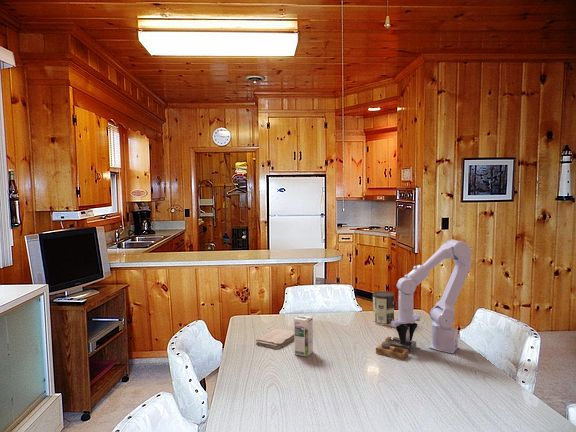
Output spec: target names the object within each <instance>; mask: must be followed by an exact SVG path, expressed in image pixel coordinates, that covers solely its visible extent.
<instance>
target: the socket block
mask: <svg viewBox="0 0 576 432" xmlns="http://www.w3.org/2000/svg"><path fill="white" fill-rule="evenodd" d="M392 340H396V341H399V342H398V343H397V342H392V341H389V343H390V346H393V347H397V348H401V349H405V350H408V354H410V353H411V352H413V350H414V349H416V347H417V341H416V340H412V341H410V346H408V345H403V344H402V342H400V338H399V336H398V337H397V336H394V337H393V338H392Z"/></svg>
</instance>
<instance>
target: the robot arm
mask: <svg viewBox="0 0 576 432" xmlns="http://www.w3.org/2000/svg"><path fill="white" fill-rule="evenodd" d="M471 254H472V248H471V247H470V245H469V244H468V243H467V242H466V241H462V240H461V241H460V240H456V239H453V238H451V239H448V240H446V242H445V243H443V244H441V245H440V247H439V248H438V249H437V250H436V251H435V253H433V254H432V255H431V256H430V257H429V258H428V259H427V260H426V261H425V262H424V263H423V264H417V265H414V266H413V267H412V268H413V269H412V270H411V271H409V272H408V273H407V274H405V275H404V276H403V277H401V278H399V279H398V280H397V283H396V288H397V289H398V317H397V318H395V319H394V321H391V325H390V326H391V327H393V328H395V329H396V332H397V334H398V338H400V342H402V343H405V342H406V333H407V330H408V327H405V325H407V326H410V341H413V336H414V333H415V331H416V329H417V328H418V323H417V322H420V321H421V316H419V315H417V314H416V315H415V314H414V293H415V292H416V290H417V286H419V285H420V284H422V282H423V281H424V280H426V278H428V277H429V275H430V271H431V270H432V269H434V268H435V267H436V266H438V265H439V264H440V263H441V262H443V261H444V260H445V259H452V261H453V262H454V268H453V270H452V272H451V275H450V277H449V279H448V281H447V284H446V286H445V289H444V291H443V293H442V296H441V298H440V300H438V301H437V302H436V303H435V305H434V307H432V308H431V309H430V312H429V318H430V319H431V320H432V323H431V344H430V345H429V346H428V349H431V350H434V351H440V352H444V353H449V354H454V353H455V352H456V351H457V350H458V348H459V332H458V329H457V328H455V327H453V325H454V323H455V315H456V310H455V304H456V302H457V299H458V298H459V295H460V294H461V293H460V292H461V291H462V288H463V286H464V284H465V281H466V279H467V277H468V275H469V272H470V269H471V267H472V258H471Z"/></svg>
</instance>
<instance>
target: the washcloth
mask: <svg viewBox="0 0 576 432" xmlns="http://www.w3.org/2000/svg"><path fill="white" fill-rule="evenodd" d="M292 341H295V340H294V330H287V329H282V328H276V329H273V330H272V331H269V332H268V333H265V334H264V335H262V336H260V337H259V338H257V339H256V340H255V342H256V345H259V346H260V345H261V347H264V346H265V347H266V348H270V349H274V350H275V349H276V350H278V349H281V348H282V347H285V345H287V344H289V343H290V342H292Z"/></svg>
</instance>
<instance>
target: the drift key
mask: <svg viewBox="0 0 576 432" xmlns="http://www.w3.org/2000/svg"><path fill="white" fill-rule="evenodd" d="M389 341H392V342H397V343H398V342H399V341H396V340H393V338H392V337H391V336H387V337H386V338H385V341H384V342H389Z"/></svg>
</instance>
